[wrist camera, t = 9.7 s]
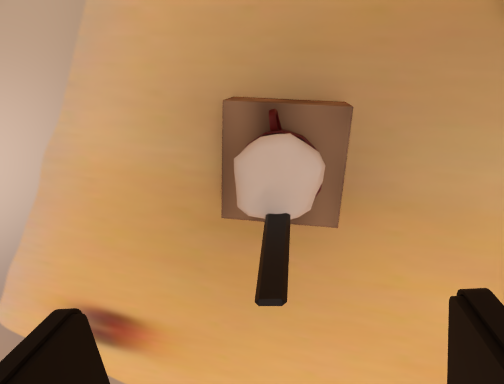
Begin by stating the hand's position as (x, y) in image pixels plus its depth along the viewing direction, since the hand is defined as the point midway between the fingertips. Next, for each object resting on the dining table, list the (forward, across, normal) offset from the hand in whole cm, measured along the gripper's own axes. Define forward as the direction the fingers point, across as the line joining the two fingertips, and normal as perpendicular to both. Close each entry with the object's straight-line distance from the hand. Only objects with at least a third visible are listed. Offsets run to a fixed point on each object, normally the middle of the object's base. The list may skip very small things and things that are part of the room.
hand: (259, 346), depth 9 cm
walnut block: (+26, 0, 0) cm, 26 cm away
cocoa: (+21, 0, 0) cm, 21 cm away
